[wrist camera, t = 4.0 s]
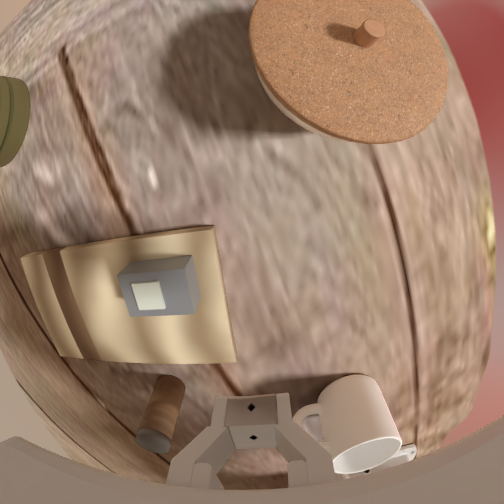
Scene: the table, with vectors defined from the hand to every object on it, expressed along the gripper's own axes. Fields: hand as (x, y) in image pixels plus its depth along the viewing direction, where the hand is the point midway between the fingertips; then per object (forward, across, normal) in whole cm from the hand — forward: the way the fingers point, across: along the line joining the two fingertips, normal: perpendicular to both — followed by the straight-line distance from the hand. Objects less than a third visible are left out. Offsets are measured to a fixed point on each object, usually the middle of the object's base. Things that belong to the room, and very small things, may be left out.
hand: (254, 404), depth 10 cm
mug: (+16, -8, +19) cm, 26 cm away
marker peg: (+16, +12, +15) cm, 25 cm away
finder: (+14, +8, 0) cm, 16 cm away
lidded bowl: (+16, -8, -16) cm, 24 cm away
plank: (+16, +15, +3) cm, 22 cm away
